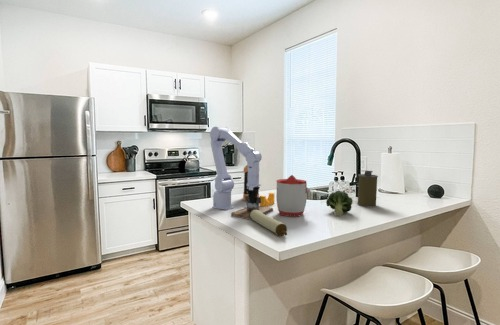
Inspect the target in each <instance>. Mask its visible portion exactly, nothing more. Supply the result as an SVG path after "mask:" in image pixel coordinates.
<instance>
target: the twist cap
mask: <svg viewBox="0 0 500 325" xmlns="http://www.w3.org/2000/svg"><path fill="white" fill-rule="evenodd" d="M245 203H246V207H247V211H251V210H253V209H255V210H259V206H260V203H261V197H260V196H259V197H256V198H255V203H250V199H249V195H246V201H245Z"/></svg>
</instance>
